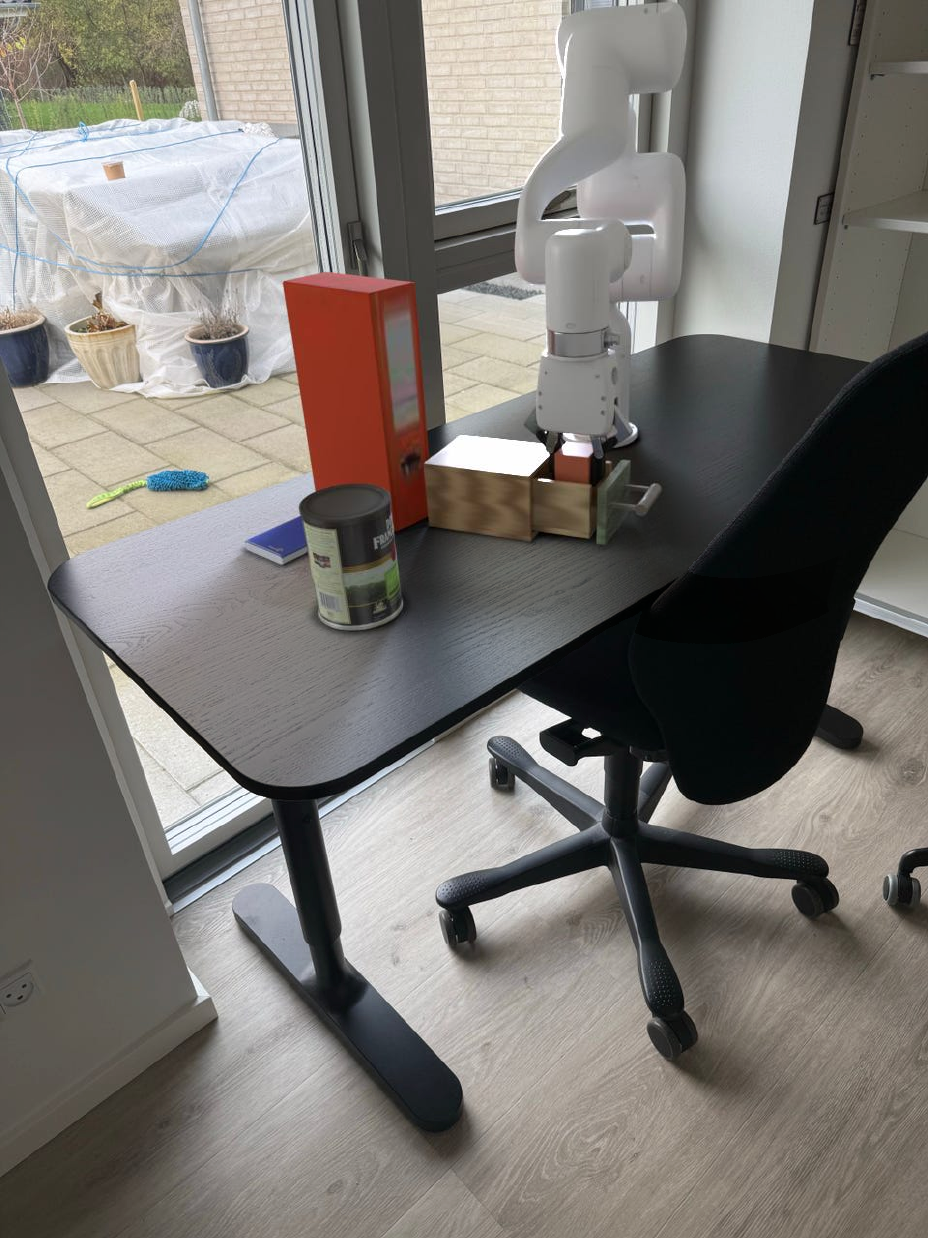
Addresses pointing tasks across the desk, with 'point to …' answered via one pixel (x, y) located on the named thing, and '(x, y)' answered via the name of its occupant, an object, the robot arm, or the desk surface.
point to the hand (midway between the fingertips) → (577, 479)
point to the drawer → (587, 503)
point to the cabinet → (484, 486)
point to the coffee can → (352, 555)
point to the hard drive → (280, 542)
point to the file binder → (362, 385)
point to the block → (573, 463)
